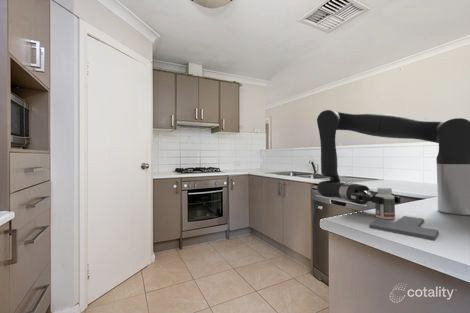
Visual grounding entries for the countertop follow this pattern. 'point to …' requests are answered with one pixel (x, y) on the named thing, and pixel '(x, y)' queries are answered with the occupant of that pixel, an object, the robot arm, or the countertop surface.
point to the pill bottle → (385, 204)
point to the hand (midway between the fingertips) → (391, 200)
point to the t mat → (406, 227)
